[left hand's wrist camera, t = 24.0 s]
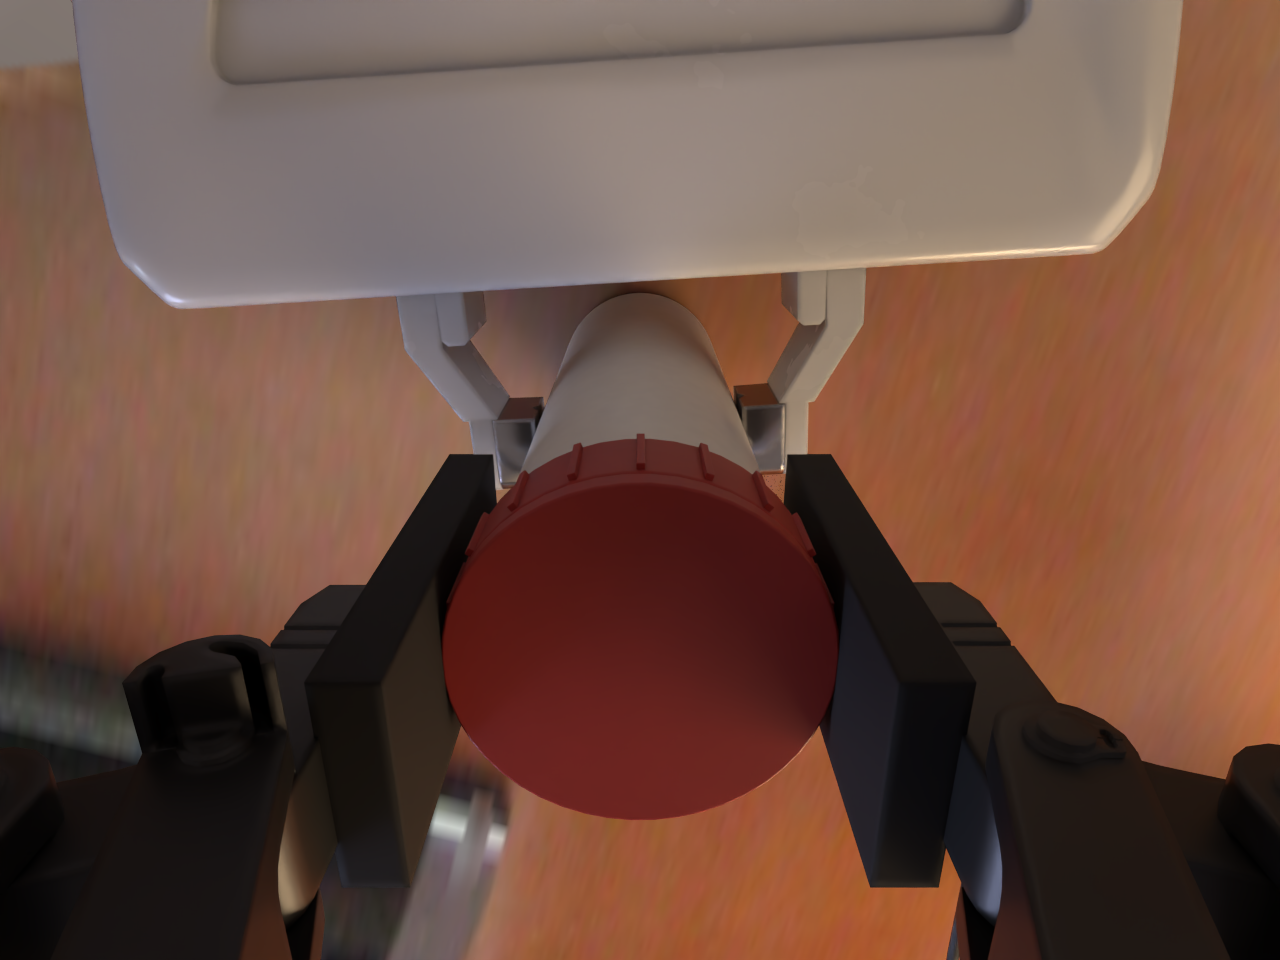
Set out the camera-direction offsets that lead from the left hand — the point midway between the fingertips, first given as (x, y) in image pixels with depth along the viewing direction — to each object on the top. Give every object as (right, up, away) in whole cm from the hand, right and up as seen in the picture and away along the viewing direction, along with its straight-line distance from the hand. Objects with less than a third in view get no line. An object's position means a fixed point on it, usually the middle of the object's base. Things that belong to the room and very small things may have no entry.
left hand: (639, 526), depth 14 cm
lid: (0, -1, -4) cm, 4 cm away
